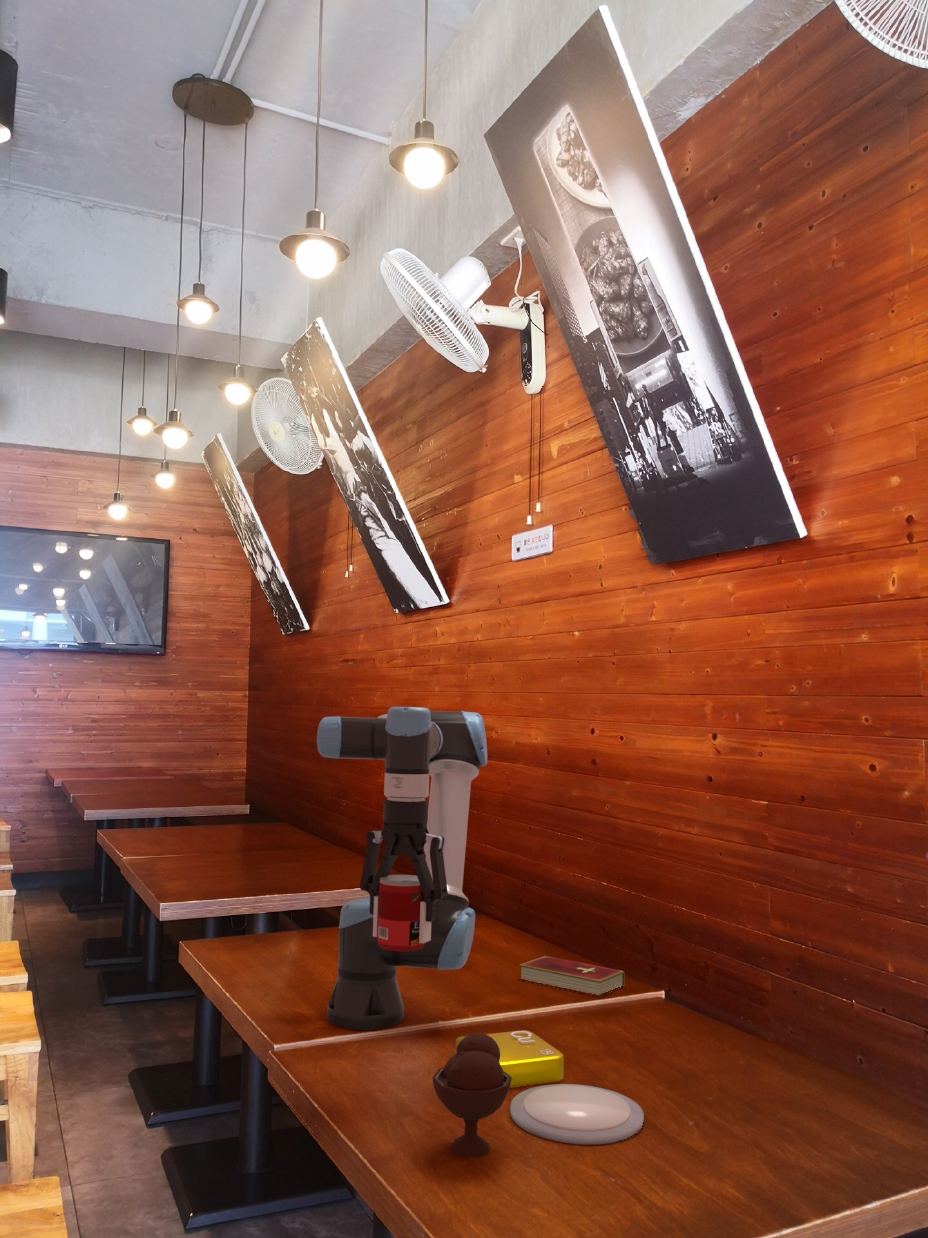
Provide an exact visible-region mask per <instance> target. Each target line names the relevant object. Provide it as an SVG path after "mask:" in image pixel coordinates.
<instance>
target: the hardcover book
mask: <svg viewBox="0 0 928 1238" xmlns="http://www.w3.org/2000/svg"><path fill="white" fill-rule="evenodd" d="M518 967H520V980H521V979H525V980H529V981H534V982H537V983H543V984H549V985H552V986H558V987H561V988H567V989H572V990H576V991H581V992H586V993H592V994H596V995H600V994H602V993H605V992H608V991H610V990H613V989H615V988H618V987H620V988H624V987H625V983H626V982H625V980H626V976H625V975H626V974H625V970H624V971H623V970H619V969H614V968H610V967H605V966H599V965H594V964H589V963H584V962H578V961H575V960H574V961H573V960H567V959H562V958H557V957H552V956H547V955H543V956H542V957H539V958H535V959H532V960H530V961H526V962H524V963H520V964H518ZM621 986H623V987H621ZM618 989H619V988H618Z"/></svg>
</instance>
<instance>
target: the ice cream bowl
mask: <svg viewBox="0 0 928 1238" xmlns="http://www.w3.org/2000/svg"><path fill="white" fill-rule="evenodd" d="M486 1034H487V1033H481V1032H474V1033H469V1034H468V1035H467V1036H466V1037H465V1038H464V1039H462V1040H461V1041H460V1042H459V1044H458V1046H457V1049H456V1048H455V1053H454V1054H453V1055H452V1056H451V1057H449V1059H448V1060H447V1062H446V1064H445V1065H444V1067H442V1068H438V1069H437V1070H436V1072H435V1074H434V1075H433V1076H432V1084H433V1089H434V1091H435V1094H436V1097H437V1098H438V1100H439V1101H440V1102H441V1103H442V1105H444V1107H445V1108H446V1109H448V1111H449V1112H450V1113H451V1114H453V1115H454V1116H455V1117H456V1118H460V1119H463V1122H464V1134H463V1135H461V1136H458V1137H457V1138H455V1139H454V1140H453V1141H452V1144H451V1146H450V1150H451V1151H452V1152H453V1153H454V1155H458V1156H461V1157H464V1158H480V1157H483V1156H486V1155H489V1153H490V1150H491V1145H490V1143H489V1142H488V1141H487V1140H485V1139H484V1138H483V1137H482V1136H479V1135H478V1123H479V1120H481V1119H485V1118H488V1117H489V1116H491V1115H493V1114H494V1113H495V1112H496V1111H497V1110H499V1109H500V1108H501V1107H502V1106H503V1104H504V1101H505V1099H506V1097H507V1095H508V1093H509V1090H510V1089H511V1088H510V1084H511V1079H512V1077H511V1076H509V1075H508V1074H507V1073H506V1072H504V1071H503V1069H502V1067H501V1065H500V1063H499V1060H500V1049H499V1047H498V1045H497V1043H496V1041H495V1040H494V1039H493V1038H492V1037H490V1036H488V1035H486ZM456 1051H457V1052H456Z"/></svg>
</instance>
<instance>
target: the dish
mask: <svg viewBox="0 0 928 1238" xmlns="http://www.w3.org/2000/svg"><path fill="white" fill-rule="evenodd" d="M510 1117H511V1119H512V1121H513V1122H514V1123H515V1124H516V1125H517V1126H518V1127H519V1128H521V1129H523V1130H524V1131H525V1132H528V1133H529V1134H532V1135H534V1136H537V1137H538V1138H539V1137H540V1138H541V1139H542V1138H543V1139H546V1140H549V1141H554V1142H558V1143H564V1144H569V1145H571V1144H572V1145H584V1146H585V1145H586V1146H587V1145H595V1146H596V1145H605V1144H606V1145H607V1144H614V1143H618V1142H620V1141H619V1140H622V1141H625V1140H627V1139H626V1138H628V1137H630V1136H632V1135H634V1134H635V1133H637V1132H638V1131H639V1130H640V1129H641V1128H642V1129H643V1127H644V1124H643V1122H644V1119H645V1118H644V1117H645V1115H644V1111H643V1109H642V1107H641V1106H640V1105H639V1104H638V1103H637V1102H636V1101H635V1100H633V1099H631V1098H629V1097H627V1096H625V1095H623V1094H621V1093H619V1092H616V1091H614V1090H610V1089H605V1088H602V1087H597V1086H592V1085H587V1084H586V1085H585V1084H584V1085H583V1084H574V1083H571V1084H570V1083H559V1084H556V1083H555V1084H554V1083H552V1084H547V1085H546V1084H543V1085H538V1086H535V1087H530V1088H528V1089H526V1090H523V1091H522V1092H520V1093H518V1094H517V1095H515V1096H514V1097H513V1098H512V1099H511V1102H510ZM644 1123H645V1122H644ZM642 1126H643V1127H642ZM642 1129H641V1130H642ZM641 1130H640V1131H641ZM640 1131H639V1132H640ZM637 1134H638V1133H637ZM634 1136H635V1135H634ZM632 1137H633V1136H632ZM630 1138H631V1137H630ZM624 1139H625V1140H624ZM628 1139H629V1138H628ZM617 1141H618V1142H617ZM613 1142H614V1143H613Z"/></svg>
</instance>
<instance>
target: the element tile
mask: <svg viewBox="0 0 928 1238" xmlns="http://www.w3.org/2000/svg"><path fill="white" fill-rule="evenodd" d="M485 1034H486V1035H488V1036H490V1037H492V1038H493V1039H494V1040H495V1041H496V1043H497V1045H498V1047H499V1049H500V1060H499V1063H500V1065H501V1067H502V1069H503V1071H504V1072H506V1073H507V1074H508V1075H509V1076H511V1077H512V1079H511V1084H510V1089H513V1088H521V1087H520V1086H522V1087H528V1086H527V1085H530V1086H535V1085H534V1084H538V1085H544V1084H543V1083H546V1084H548V1083H547V1082H554V1083H556V1082H555V1081H559V1082H561V1081H560V1080H561V1079H563V1080H564V1066H565V1065H564V1064H565V1063H564V1062H565V1059H564V1058H565V1056H564V1054H563V1053H562V1051H560V1050H558V1049H556V1048H555V1047H554V1046H553V1045H551V1044H549V1043H548V1042H547V1041H545V1040H544V1039H542V1038H541V1037H540V1036H538V1035H536V1034H535V1033H534V1032H532V1031H529V1030H528V1029H527V1030H525V1029H524V1030H523V1029H522V1030H513V1031H506V1032H505V1031H503V1032H495V1033H485ZM465 1037H466V1036H464V1035H463V1036H458V1037H457V1038H456V1040H455V1053H456V1052H457V1051H456V1049H457V1046H458V1044H459V1042H460V1041H461V1040H462V1039H464V1038H465ZM541 1083H542V1084H541Z"/></svg>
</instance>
